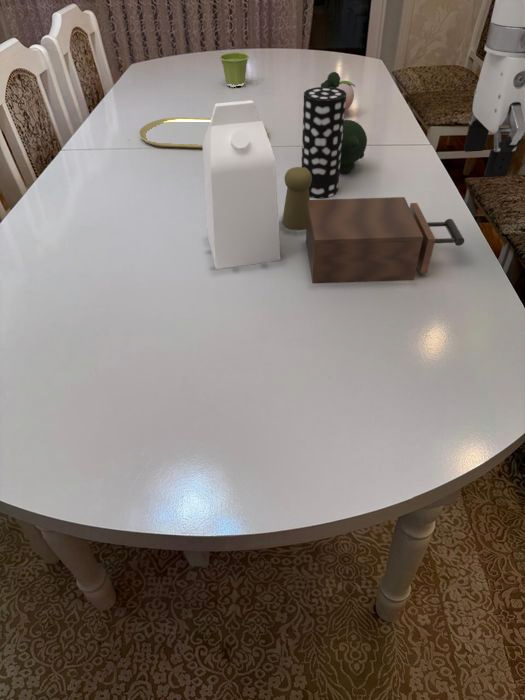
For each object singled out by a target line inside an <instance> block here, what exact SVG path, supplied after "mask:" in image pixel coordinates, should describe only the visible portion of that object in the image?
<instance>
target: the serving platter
mask: <svg viewBox="0 0 525 700" xmlns="http://www.w3.org/2000/svg"><path fill="white" fill-rule="evenodd" d="M210 120H211V117H184V116H183V117H182V116H181V117H177V116H176V117H168V118H162V119H157V120H154V121H151V122H149V123H147V124H145V125H144V126H142V127H141V128H140V129H139V131H138V134H139V135H138V136H139V138H140V139H141V140H143V141H144V142H145V143H146V144H149V145H152V146H156V147H161V148H183V149H203V145H198V144H172V143H156V142H151V141H148V140H147V138H146V133H147V131H149V130H150V129H152V128H153V127H156V126H157V125H160V124H163V123H172V122H210ZM264 127H265V130H266V133H267V134H268V132H269V130H268V128H267V126H266V125H264Z"/></svg>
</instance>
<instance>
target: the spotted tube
mask: <svg viewBox="0 0 525 700" xmlns="http://www.w3.org/2000/svg"><path fill="white" fill-rule="evenodd" d="M345 104H346V92H345V91H344V90H341V89H338V88H333V87H321V86H317V87H311V88H308V89H307V90H305V91H304V92H303V105H302V106H303V107H302V137H301V139H302V140H301V163H300V164H301V166H300V167H303V168H306V169H308V170H309V171H310V173H311V175H312V181H311V185H310V186H309V197H310V198H312V199H327V198H328V199H329V198H331V197H333V196H335V195H336V194H337V193H338V191H339V183H340V182H339V181H340V173H341V172H340V160H341V149H342V138H343V126H344V120H345V115H346V114H345V112H346V111H345Z"/></svg>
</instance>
